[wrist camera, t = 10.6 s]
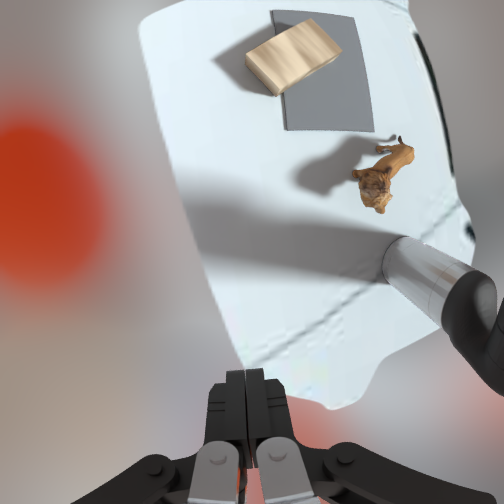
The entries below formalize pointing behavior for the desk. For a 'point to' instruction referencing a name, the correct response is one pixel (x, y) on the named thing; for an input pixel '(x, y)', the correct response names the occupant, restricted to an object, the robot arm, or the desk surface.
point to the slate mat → (329, 80)
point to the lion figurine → (382, 175)
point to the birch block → (292, 56)
